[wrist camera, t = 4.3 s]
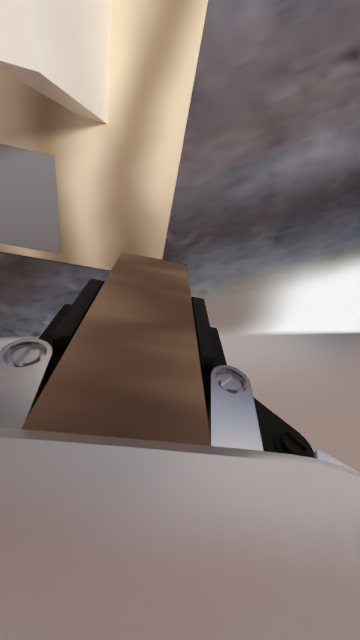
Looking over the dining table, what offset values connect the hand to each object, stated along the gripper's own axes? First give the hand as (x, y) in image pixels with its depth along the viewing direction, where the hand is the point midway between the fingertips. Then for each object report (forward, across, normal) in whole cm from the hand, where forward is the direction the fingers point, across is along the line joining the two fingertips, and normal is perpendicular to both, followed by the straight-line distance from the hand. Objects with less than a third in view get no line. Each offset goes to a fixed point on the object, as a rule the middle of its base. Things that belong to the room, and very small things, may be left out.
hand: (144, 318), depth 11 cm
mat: (+14, +13, 0) cm, 19 cm away
